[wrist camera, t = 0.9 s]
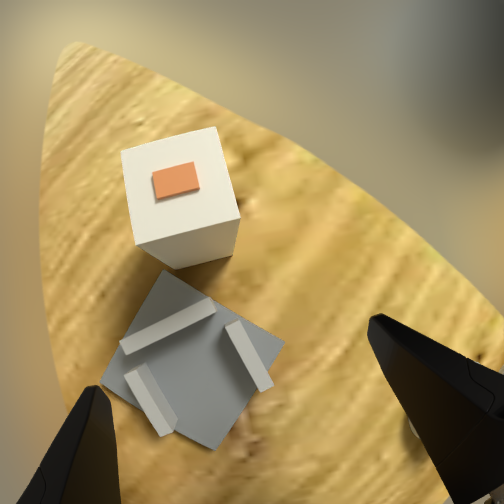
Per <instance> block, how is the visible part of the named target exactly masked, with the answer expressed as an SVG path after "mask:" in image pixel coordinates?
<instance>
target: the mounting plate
mask: <svg viewBox="0 0 504 504" xmlns="http://www.w3.org/2000/svg"><path fill="white" fill-rule="evenodd" d="M119 342H120V345H119V346H118V348H117V350H116V352H115V354H114V356H113V357H112V359H111V361H110V363H109V365H108V367H107V369H106V371H105V372H104V374H103V376H102V378H101V380H100V383H101V384H103V385H104V386H106V387H107V388H108V389H110V390H111V391H113V392H114V393H116V394H117V395H119V396H120V397H122V398H123V399H125V400H126V401H128V402H129V403H131V404H132V405H134V406H135V407H137V408H138V409H140V410H142V411H143V412H145V414H146V415H147V417H148V419H149V420H150V422H151V423H152V425H153V426H154V428H155V430H156V431H157V433H158V434H159V436H160V437H162V436H164V435H167V434H169V433H172V432H173V431H174V430H176V431H177V432H179V433H181V434H183V435H185V436H187V437H189V438H190V439H192V440H194V441H196V442H198V443H200V444H202V445H204V446H206V447H208V448H210V449H212V450H214V451H216V449H217V448H218V446H219V445H220V443H221V442H222V441H223V439H224V438H225V436H226V435H227V433H228V432H229V430H230V429H231V427H232V426H233V424H234V423H235V421H236V420H237V418H238V417H239V415H240V414H241V412H242V411H243V409H244V408H245V406H246V405H247V403H248V402H249V400H250V398H251V397H252V395H253V394H254V392H255V391H256V389H257V388H258V389H259V391H260V392H263V391H265V390H267V389H269V388H271V387H273V386H274V383H273V382H272V380H271V378H270V376H269V374H268V370H269V368H270V367H271V365H272V363H273V362H274V360H275V359H276V357H277V355H278V354H279V352H280V350H281V349H282V347H283V345H284V344H285V342H284V341H283V340H281V339H279V338H278V337H276V336H274V335H272V334H271V333H269V332H267V331H265V330H264V329H262V328H260V327H258V326H257V325H255V324H253V323H251V322H250V321H248V320H246V319H245V318H243V317H241V316H239V315H238V314H236V313H234V312H233V311H231V310H229V309H228V308H226V307H224V306H223V305H221V304H219V303H218V302H216V301H214V300H213V299H212V298H211V297H208V296H206V295H204V294H203V293H201V292H200V291H198V290H196V289H195V288H193V287H192V286H190V285H188V284H187V283H185V282H184V281H182V280H180V279H179V278H177V277H176V276H174V275H172V274H171V273H169V272H168V271H166V270H164V269H163V271H162V272H161V274H160V275H159V277H158V279H157V280H156V282H155V284H154V285H153V287H152V289H151V290H150V292H149V294H148V296H147V297H146V299H145V301H144V302H143V304H142V306H141V308H140V309H139V311H138V313H137V314H136V316H135V318H134V320H133V321H132V323H131V325H130V327H129V328H128V330H127V332H126V334H125V336H124V337H123V339H122V340H120V341H119Z"/></svg>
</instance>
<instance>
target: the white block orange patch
mask: <svg viewBox="0 0 504 504" xmlns="http://www.w3.org/2000/svg"><path fill="white" fill-rule="evenodd" d="M121 159H122V166H123V174H124V181H125V187H126V194H127V200H128V206H129V212H130V218H131V223H132V229H133V234H134V239H135V244H136V246H138V247H139V248H141V249H142V250H144V251H146V252H147V253H149V254H150V255H152V256H153V257H155V258H157V259H158V260H160V261H161V262H163V263H165V264H166V265H168V266H169V267H171V268H173V269H174V270H178V269H181V268H185V267H189V266H193V265H197V264H201V263H205V262H208V261H212V260H216V259H220V258H224V257H228V256H232V255H233V251H234V247H235V242H236V237H237V232H238V228H239V223H240V214H239V210H238V207H237V203H236V199H235V196H234V192H233V188H232V185H231V181H230V177H229V174H228V170H227V166H226V163H225V159H224V155H223V152H222V148H221V144H220V141H219V137H218V133H217V130H216V126H214V127H210V128H205V129H201V130H196V131H192V132H188V133H184V134H180V135H176V136H172V137H168V138H164V139H160V140H157V141H153V142H150V143H146V144H143V145H139V146H136V147H132V148H129V149H126V150H122V151H121Z"/></svg>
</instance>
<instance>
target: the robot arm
mask: <svg viewBox="0 0 504 504" xmlns="http://www.w3.org/2000/svg"><path fill="white" fill-rule="evenodd" d="M367 336H368V340H369V342H370V345H371V347H372V349H373V351H374V353H375V356H376V358H377V360H378V362H379V365H380V367H381V369H382V371H383V374H384V376H385V378H386V379H387V381H388V383H389V385H390V386H391V388H392V390H393V392H394V393H395V395H396V397H397V399H398V400H399V402H400V404H401V405H402V407H403V409H404V411H405V413H406V414H407V416H408V418H409V420H410V421H411V423H412V425H413V427H414V429H415V430H416V432H417V434H418V436H419V438H420V439H421V441H422V443H423V445H424V447H425V449H426V450H427V452H428V454H429V456H430V458H431V460H432V462H433V464H434V465H435V467H436V470H437V471H438V473H439V475H440V477H441V479H442V481H443V483H444V485H445V487H446V489H447V491H448V493H449V495H450V497H451V498H452V501H453V503H454V504H471V503H473V502H475V501H477V500H478V499H480V498H482V497H484V496H485V495H487V494H490V496H491V497H490V498H489V499H488V500H486V501H485V502H484V504H504V375H503V374H501V373H498V372H496V371H494V370H491V369H489V368H487V367H485V366H483V365H481V364H479V363H477V362H475V361H473V360H471V359H469V358H466V357H465V356H463V355H461V354H459V353H457V352H455V351H454V350H452V349H450V348H448V347H446V346H444V345H442V344H440V343H438V342H436V341H434V340H433V339H431V338H429V337H427V336H425V335H423V334H421V333H419V332H417V331H415V330H413V329H411V328H410V327H408V326H406V325H404V324H402V323H400V322H398V321H396V320H394V319H392V318H390V317H388V316H386V315H385V314H382V313H380V314H377V315H374V316H372V317H370V319H369V326H368V332H367ZM16 504H121V497H120V487H119V475H118V461H117V445H116V437H115V430H114V423H113V416H112V408H111V402H110V400H109V398H108V397H107V396H106V394H105V393H104V392H103V391H102V389H101V388H100V387H99V386H97V385H92V386H87V387H86V388H85V389H84V391H83V392H82V394H81V395H80V397H79V399H78V400H77V402H76V404H75V405H74V407H73V408H72V410H71V412H70V413H69V415H68V417H67V418H66V420H65V422H64V424H63V425H62V427H61V428H60V430H59V432H58V434H57V435H56V437H55V439H54V440H53V442H52V444H51V446H50V447H49V449H48V451H47V453H46V454H45V456H44V458H43V460H42V461H41V463H40V467H38V469H37V471H36V472H35V474H34V476H33V478H32V479H31V481H30V483H29V485H28V486H27V488H26V489H25V491H24V492H23V494H22V496H21V497H20V499H19V500H18V502H17V503H16Z"/></svg>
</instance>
